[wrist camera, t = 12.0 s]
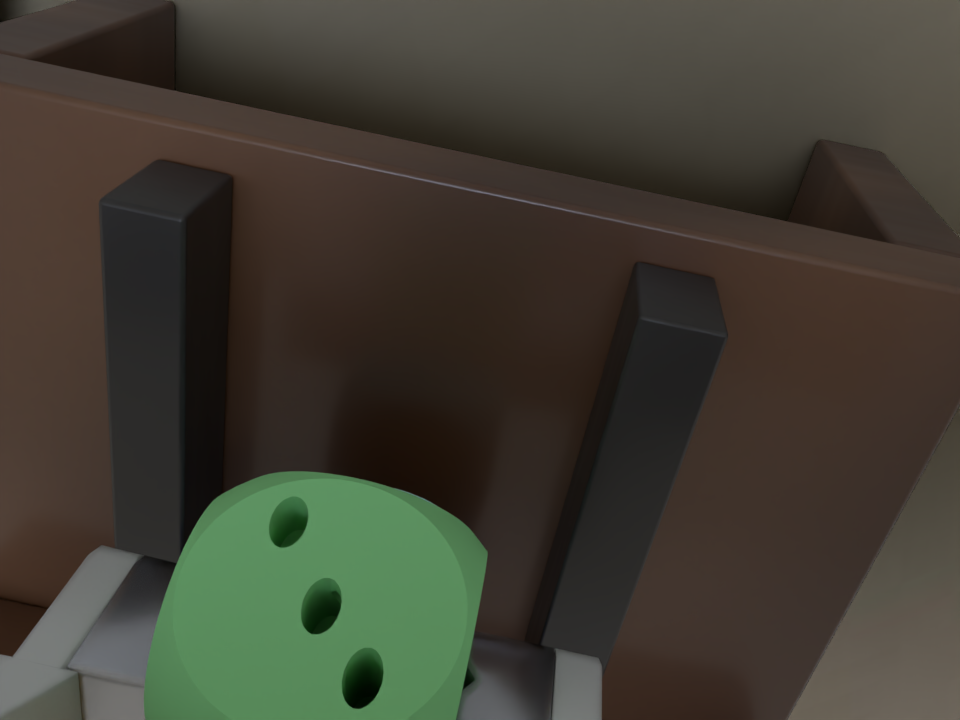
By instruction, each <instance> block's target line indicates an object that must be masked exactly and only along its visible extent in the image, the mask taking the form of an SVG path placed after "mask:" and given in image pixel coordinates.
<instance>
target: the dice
mask: <svg viewBox="0 0 960 720" xmlns="http://www.w3.org/2000/svg"><path fill="white" fill-rule="evenodd" d="M487 556H488V552H487V550H486V549H485V548H484V546H483V545H482V544H481V542H480V541H479V540H478V538H477V537H476V536H475V534H474V533H473V532H472V531H471V529H470V528H469V527H468V526H466V525H465V524H464V523H463V522H462V521H460V520H459V519H458V518H456V517H455V516H453V515H452V514H450V513H449V512H447V511H445V510H443V509H442V508H440V507H438V506H437V505H435V504H433V503H431V502H430V501H428V500H426V499H424V498H421V497H419V496H417V495H414V494H412V493H409V492H406V491H403V490H399V489H395V488H391V487H388V486H385V485H382V484H378V483H374V482H371V481H366V480H362V479H358V478H353V477H348V476H342V475H336V474H329V473H320V472H305V471H289V472H277V473H271V474H267V475H263V476H260V477H257V478H255V479H252V480H250V481H248V482H245V483H243V484H240V485H238V486H236V487H234V488H232V489H230V490H229V491H227V492H225V493H223V494H221V495H220V496H218V497H217V498H216V499H215V500H213V501H212V503H211V504H210V505H209V506H208V507H207V509H206V510H205V511H204V513H203V514H202V516H201V517H200V519H199V520H198V522H197V524H196V525H195V527H194V529H193V531H192V532H191V534H190V536H189V538H188V540H187V542H186V544H185V546H184V548H183V551H182V553H181V555H180V557H179V560H178V562H177V564H176V567H175V569H174V572H173V575H172V577H171V580H170V582H169V585H168V588H167V591H166V594H165V597H164V600H163V603H162V606H161V610H160V613H159V616H158V620H157V624H156V627H155V631H154V635H153V639H152V644H151V648H150V653H149V658H148V664H147V670H146V678H145V688H144V713H145V719H146V720H456V717H457V712H458V708H459V703H460V698H461V694H462V689H463V684H464V680H465V675H466V670H467V665H468V660H469V655H470V651H471V646H472V641H473V636H474V630H475V625H476V620H477V615H478V610H479V605H480V599H481V594H482V588H483V582H484V577H485V570H486V564H487Z"/></svg>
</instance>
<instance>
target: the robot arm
mask: <svg viewBox="0 0 960 720" xmlns="http://www.w3.org/2000/svg"><path fill="white" fill-rule="evenodd" d="M176 564H177V563H174V562H170V561H166V560H162V559H158V558H154V557H150V556H146V555H145V556H144V555H140V554H136V553H132V552H128V551H123V550H119V549H115V548H111V547H107V546H103V545H101V546H100V547H98V548H97V549H96V550H94V551H93V552H91V553H90V554H88V556H87V557H86V558H85V560H84V561H83V562H82V564H81V565H80V566H79V568H78V569H77V570H76V572H75V573H74V574H73V576H72V577H71V579H70V580H69V581H68V583H67V584H66V585H65V587H64V588H63V589H62V591H61V592H60V593H59V595H58V596H57V597H56V599H55V600H54V601H53V603H52V604H51V605H50V607H49V608H48V609H47V611H46V612H45V614H44V615H43V616H42V618H41V619H40V620H39V622H38V623H37V624H36V626H35V627H34V628H33V630H32V631H31V632H30V634H29V635H28V636H27V638H26V639H25V640H24V642H23V643H22V644H21V646H20V647H19V649H18V650H17V651H16V653H15V654H14V655H13V657H11V656H6V655H1V654H0V720H146V719H145V713H144V688H145V678H146V670H147V664H148V658H149V653H150V648H151V644H152V639H153V635H154V631H155V627H156V624H157V620H158V616H159V613H160V610H161V606H162V603H163V600H164V597H165V594H166V591H167V588H168V585H169V582H170V580H171V577H172V575H173V572H174V569H175V567H176ZM456 720H602V665H601V662H600V660H599V658H597V657H592V656H588V655H583V654H579V653H574V652H570V651H565V650H561V649H553V647H549V646H544V645H539V644H535V643H530V642H525V641H521V640H516V639H511V638H507V637H502V636H497V635H492V634H488V633H483V632H478V631H474V636H473V641H472V646H471V651H470V655H469V660H468V665H467V670H466V675H465V680H464V684H463V689H462V694H461V698H460V703H459V708H458V712H457V717H456Z"/></svg>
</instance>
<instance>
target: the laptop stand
mask: <svg viewBox="0 0 960 720" xmlns="http://www.w3.org/2000/svg"><path fill="white" fill-rule="evenodd" d="M959 406H960V238H959V237H958V236H957V235H956V234H955V233H954V232H953V231H952V229H951V228H950V227H949V226H948V225H947V224H946V223H945V222H944V220H943V219H942V218H941V217H940V216H939V215H938V214H937V213H936V212H935V210H934V209H933V208H932V207H931V206H930V205H929V204H928V203H927V201H926V200H925V199H924V198H923V197H922V196H921V195H920V194H919V193H918V191H917V190H916V189H915V188H914V187H913V186H912V185H911V184H910V182H909V181H908V180H907V179H906V178H905V177H904V176H903V175H902V174H901V172H900V171H899V170H898V169H897V168H896V167H895V166H894V165H893V163H892V162H891V161H890V160H889V159H888V158H887V157H886V156H885V155H884V154H883V153H882V152H879V151H874V150H869V149H864V148H860V147H855V146H850V145H846V144H841V143H836V142H831V141H827V140H820V141H819V142H818V143H817V145H816V147H815V150H814V153H813V155H812V158H811V161H810V163H809V166H808V169H807V171H806V174H805V176H804V179H803V182H802V184H801V187H800V190H799V192H798V195H797V198H796V200H795V203H794V205H793V208H792V211H791V213H790V216H789V219H788V221H783V220H778V219H773V218H769V217H764V216H759V215H754V214H750V213H745V212H740V211H736V210H731V209H726V208H722V207H717V206H712V205H708V204H703V203H698V202H694V201H689V200H684V199H679V198H675V197H670V196H665V195H661V194H656V193H651V192H647V191H642V190H637V189H633V188H628V187H623V186H618V185H614V184H609V183H604V182H600V181H595V180H590V179H586V178H581V177H576V176H572V175H567V174H562V173H558V172H553V171H548V170H543V169H539V168H534V167H529V166H525V165H520V164H515V163H511V162H506V161H501V160H497V159H492V158H487V157H483V156H478V155H473V154H468V153H464V152H459V151H454V150H450V149H445V148H440V147H436V146H431V145H426V144H422V143H417V142H412V141H408V140H403V139H398V138H393V137H389V136H384V135H379V134H375V133H370V132H365V131H361V130H356V129H351V128H347V127H342V126H337V125H333V124H328V123H323V122H318V121H314V120H309V119H304V118H300V117H295V116H290V115H286V114H281V113H276V112H272V111H267V110H262V109H258V108H253V107H248V106H243V105H239V104H234V103H229V102H225V101H220V100H215V99H211V98H206V97H201V96H197V95H192V94H187V93H182V92H178V91H175V7H174V4H173V3H171V2H170V1H165V0H76V1H73V2H69V3H66V4H62V5H59V6H55V7H52V8H49V9H45V10H42V11H38V12H35V13H31V14H28V15H25V16H21V17H18V18H14V19H11V20H7V21H4V22H1V23H0V654H1V655H6V656H11V657H13V655H14V654H15V653H16V651H17V650H18V649H19V647H20V646H21V644H22V643H23V642H24V640H25V639H26V638H27V636H28V635H29V634H30V632H31V631H32V630H33V628H34V627H35V626H36V624H37V623H38V622H39V620H40V619H41V618H42V616H43V615H44V614H45V612H46V611H47V609H48V608H49V607H50V605H51V604H52V603H53V601H54V600H55V599H56V597H57V596H58V595H59V593H60V592H61V591H62V589H63V588H64V587H65V585H66V584H67V583H68V581H69V580H70V579H71V577H72V576H73V574H74V573H75V572H76V570H77V569H78V568H79V566H80V565H81V564H82V562H83V561H84V560H85V558H86V557H87V556H88V554H90V553H91V552H93V551H94V550H96V549H97V548H98V547H100V546H101V545H103V546H107V547H111V548H115V549H119V550H123V551H128V552H132V553H136V554H140V555H144V556H145V555H146V556H150V557H154V558H158V559H162V560H166V561H170V562H174V563H177V562H178V560H179V557H180V555H181V553H182V551H183V548H184V546H185V544H186V542H187V540H188V538H189V536H190V534H191V532H192V531H193V529H194V527H195V525H196V524H197V522H198V520H199V519H200V517H201V516H202V514H203V513H204V511H205V510H206V509H207V507H208V506H209V505H210V504H211V503H212V501H213V500H215V499H216V498H217V497H218V496H220V495H221V494H223V493H225V492H227V491H229V490H230V489H232V488H234V487H236V486H238V485H240V484H243V483H245V482H248V481H250V480H252V479H255V478H257V477H260V476H263V475H267V474H271V473H277V472H289V471H305V472H320V473H329V474H336V475H342V476H348V477H353V478H358V479H362V480H366V481H371V482H374V483H378V484H382V485H385V486H388V487H391V488H395V489H399V490H403V491H406V492H409V493H412V494H414V495H417V496H419V497H421V498H424V499H426V500H428V501H430V502H431V503H433V504H435V505H437V506H438V507H440V508H442V509H443V510H445V511H447V512H449V513H450V514H452V515H453V516H455V517H456V518H458V519H459V520H460V521H462V522H463V523H464V524H465V525H466V526H468V527H469V528H470V529H471V531H472V532H473V533H474V534H475V536H476V537H477V538H478V540H479V541H480V542H481V544H482V545H483V546H484V548H485V549H486V550H487V552H488V556H487V564H486V570H485V577H484V582H483V588H482V594H481V599H480V605H479V610H478V615H477V620H476V625H475V630H474V631H478V632H483V633H488V634H492V635H497V636H502V637H507V638H511V639H516V640H521V641H525V642H530V643H535V644H539V645H544V646H549V647H553V649H561V650H565V651H570V652H574V653H579V654H583V655H588V656H592V657H597V658H599V660H600V662H601V665H602V720H788V718H789V716H790V714H791V712H792V710H793V709H794V707H795V705H796V703H797V701H798V700H799V698H800V696H801V694H802V692H803V690H804V689H805V687H806V685H807V683H808V681H809V679H810V678H811V676H812V674H813V672H814V670H815V669H816V667H817V665H818V663H819V661H820V659H821V658H822V656H823V654H824V652H825V650H826V648H827V647H828V645H829V643H830V641H831V639H832V638H833V636H834V634H835V632H836V630H837V628H838V627H839V625H840V623H841V621H842V619H843V617H844V616H845V614H846V612H847V610H848V608H849V607H850V605H851V603H852V601H853V599H854V597H855V596H856V594H857V592H858V590H859V588H860V586H861V585H862V583H863V581H864V579H865V577H866V576H867V574H868V572H869V570H870V568H871V566H872V565H873V563H874V561H875V559H876V557H877V555H878V554H879V552H880V550H881V548H882V546H883V545H884V543H885V541H886V539H887V537H888V535H889V534H890V532H891V530H892V528H893V526H894V524H895V523H896V521H897V519H898V517H899V515H900V514H901V512H902V510H903V508H904V506H905V504H906V503H907V501H908V499H909V497H910V495H911V493H912V492H913V490H914V488H915V486H916V484H917V483H918V481H919V479H920V477H921V475H922V473H923V472H924V470H925V468H926V466H927V464H928V462H929V461H930V459H931V457H932V455H933V453H934V452H935V450H936V448H937V446H938V444H939V442H940V441H941V439H942V437H943V435H944V433H945V431H946V430H947V428H948V426H949V424H950V422H951V421H952V419H953V417H954V415H955V413H956V411H957V410H958V408H959Z"/></svg>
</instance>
